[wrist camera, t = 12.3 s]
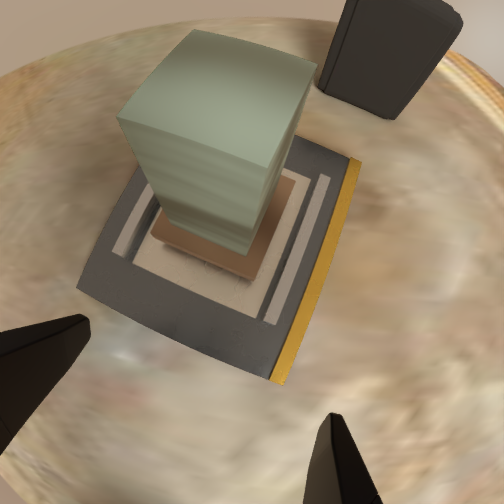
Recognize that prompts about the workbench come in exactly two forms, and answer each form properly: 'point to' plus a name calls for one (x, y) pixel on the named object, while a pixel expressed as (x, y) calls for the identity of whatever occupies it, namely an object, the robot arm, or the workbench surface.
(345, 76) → the card reader
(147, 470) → the workbench surface
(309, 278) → the dock plate
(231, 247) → the layered pillar on plinth
